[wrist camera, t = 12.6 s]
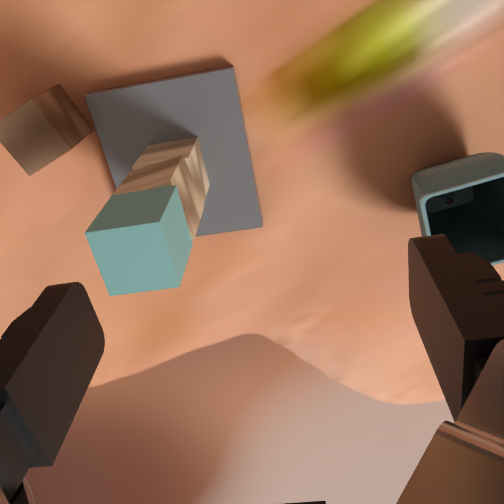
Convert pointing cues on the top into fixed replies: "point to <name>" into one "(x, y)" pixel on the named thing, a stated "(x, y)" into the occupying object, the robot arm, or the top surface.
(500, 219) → the flower pot
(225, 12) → the top surface
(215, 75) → the slate board
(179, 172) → the tower top block
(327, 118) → the top surface
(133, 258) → the teal block
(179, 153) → the tower base block
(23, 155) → the walnut block
